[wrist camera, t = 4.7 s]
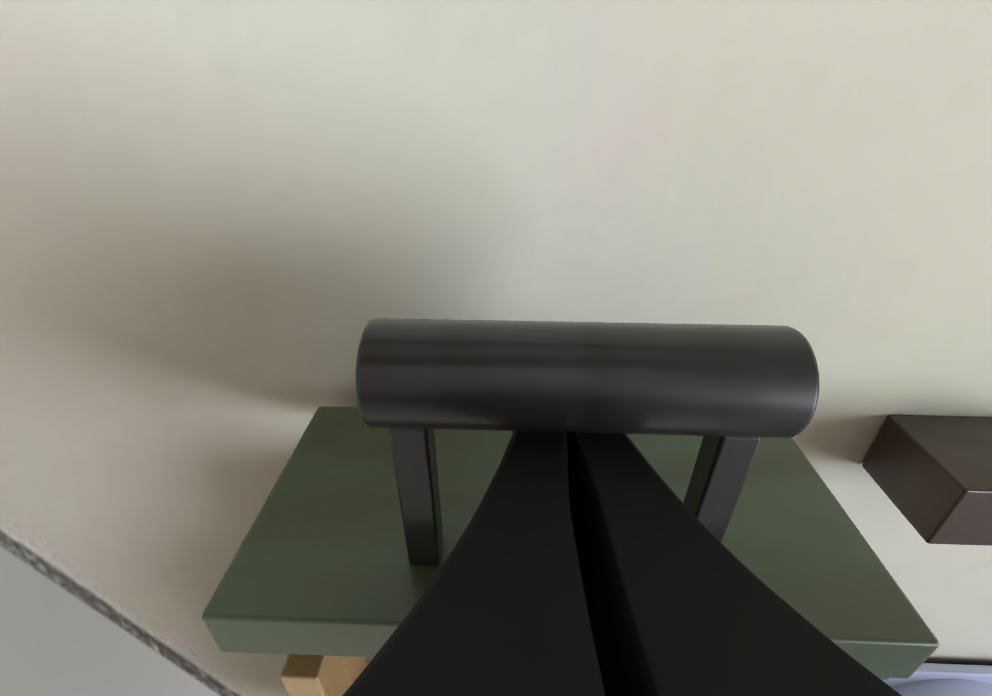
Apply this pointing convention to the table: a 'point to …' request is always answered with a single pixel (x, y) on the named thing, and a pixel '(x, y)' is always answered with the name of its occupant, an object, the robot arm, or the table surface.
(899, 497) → the knife
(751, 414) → the drawer
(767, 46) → the table surface
